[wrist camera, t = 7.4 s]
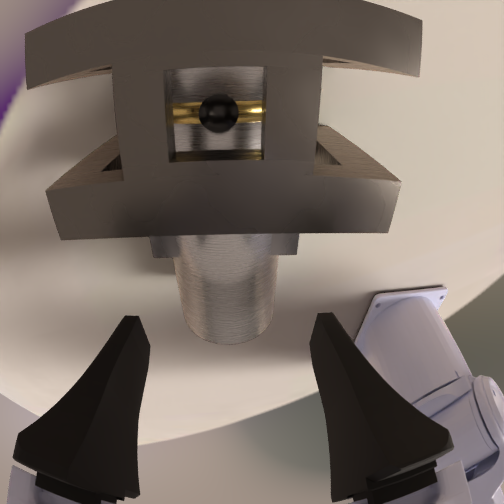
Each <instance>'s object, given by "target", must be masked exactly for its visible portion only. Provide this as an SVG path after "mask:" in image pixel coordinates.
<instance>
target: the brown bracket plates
mask: <svg viewBox="0 0 504 504" xmlns="http://www.w3.org/2000/svg"><path fill="white" fill-rule="evenodd" d="M421 48H422V20H420V19H418V18H415V17H412V16H410V15H407V14H404V13H402V12H399V11H396V10H393V9H390V8H387V7H384V6H381V5H377V4H374V3H370V2H367V1H363V0H112V1H109V2H105V3H102V4H98V5H95V6H92V7H89V8H86V9H83V10H80V11H77V12H74V13H72V14H69V15H66V16H64V17H61V18H59V19H56V20H54V21H52V22H49V23H47V24H45V25H42V26H40V27H38V28H36V29H34V30H32V31H30V32H28V33H26V34H25V66H26V83H27V90H28V89H32V88H36V87H40V86H44V85H48V84H52V83H57V82H62V81H66V80H72V79H77V78H83V77H89V76H95V75H103V74H110V73H112V79H113V94H114V106H115V116H116V126H117V135H116V136H114V137H113V138H111V139H110V140H109V141H107V142H106V143H104V144H103V145H102V146H100V147H99V148H97V149H96V150H95V151H93V152H92V153H91V154H89V155H88V156H87V157H85V158H84V159H83V160H82V161H80V162H79V163H78V164H76V165H75V166H74V167H73V168H71V169H70V170H69V171H68V172H67V173H65V174H64V175H63V176H62V177H61V178H59V179H58V180H57V181H56V182H55V183H54V184H53V185H51V186H50V187H49V188H48V189H47V190H46V195H47V198H48V202H49V205H50V208H51V212H52V215H53V218H54V221H55V224H56V227H57V230H58V233H59V236H60V239H61V240H77V239H99V238H124V237H151V236H184V235H224V234H282V233H388V231H389V228H390V224H391V221H392V217H393V214H394V210H395V206H396V202H397V199H398V195H399V191H400V187H401V181H400V180H399V179H398V178H397V177H395V176H394V175H393V174H392V173H391V172H389V171H388V170H387V169H386V168H384V167H383V166H382V165H381V164H380V163H378V162H377V161H376V160H374V159H373V158H372V157H371V156H369V155H368V154H367V153H365V152H364V151H363V150H361V149H360V148H359V147H357V146H356V145H355V144H353V143H352V142H351V141H349V140H348V139H346V138H345V137H344V136H342V135H341V134H339V133H338V132H337V131H335V130H334V129H332V128H331V127H329V126H320V125H318V119H319V107H320V94H321V80H322V66H326V67H333V68H349V69H362V70H372V71H380V72H388V73H395V74H402V75H408V76H414V77H419V75H420V63H421ZM229 66H251V67H263V88H262V122H261V149H228V150H198V151H180V152H176V147H175V133H174V116H173V96H172V70H177V69H188V68H202V67H229Z"/></svg>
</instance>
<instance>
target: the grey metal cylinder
mask: <svg viewBox="0 0 504 504" xmlns="http://www.w3.org/2000/svg"><path fill="white" fill-rule="evenodd" d="M262 88H263V67H251V66H229V67H202V68H188V69H177V70H172V96H173V116H174V133H175V147H176V152H180V151H198V150H228V149H261V122H262ZM149 238H150V242H151V247H152V252H153V256H154V258H167V257H173V261H174V267H175V272H176V278H177V283H178V288H179V293H180V298H181V302H182V307H183V312H184V316H185V320H186V323H187V325H188V326H189V328H190V329H191V330H192V331H193V332H194V333H195V334H196V335H197V336H199V337H200V338H202V339H204V340H206V341H209V342H212V343H216V344H225V345H230V344H239V343H243V342H246V341H249V340H251V339H254V338H255V337H257V336H259V335H260V334H261V333H262V332H263V331H264V330H265V329H266V328H267V327H268V325H269V324H270V322H271V320H272V316H273V308H274V298H275V288H276V278H277V268H278V257H279V255H297V247H298V240H299V233H282V234H224V235H184V236H151V237H149Z"/></svg>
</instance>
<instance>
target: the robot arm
mask: <svg viewBox="0 0 504 504" xmlns="http://www.w3.org/2000/svg"><path fill="white" fill-rule="evenodd" d="M447 293H448V289H447V288H446V287H438V288H429V289H420V290H411V291H401V292H390V293H380V294H377V295H375V296H374V298H373V300H372V303H371V305H370V307H369V310H368V312H367V315H366V317H365V319H364V322H363V324H362V326H361V329H360V331H359V333H358V335H357V337H356V340H355V342H353V341H352V340H351V338H350V337H349V335H348V334H347V333H346V331H345V330H344V328H343V327H342V325H341V324H340V322H339V321H338V319H337V318H336V317H335V315H334V314H333V313H332V312H330V313H318V314H317V318H316V322H315V326H314V329H313V333H312V337H311V340H310V351H311V358H312V365H313V369H314V373H315V377H316V381H317V385H318V389H319V392H320V396H321V400H322V404H323V408H324V413H325V418H326V425H327V433H328V441H329V453H330V469H331V499H332V502H338V501H342V500H346V499H350V498H353V500H354V502H352V503H348V504H504V495H503V492H502V489H501V487H500V486H501V484H502V483H503V481H504V396H503V395H502V392H501V390H500V389H499V387H498V386H497V384H496V383H495V381H494V380H493V379H492V378H491V377H486V376H483V375H480V376H478V377H477V378H476V377H473V376H472V374H471V372H470V370H469V368H468V366H467V364H466V362H465V360H464V358H463V356H462V354H461V352H460V350H459V348H458V346H457V344H456V342H455V341H454V339H453V337H452V335H451V333H450V331H449V330H448V328H447V326H446V325H445V323H444V321H443V319H442V317H441V316H440V314H439V312H438V309H439V307H440V305H441V304H442V302H443V300H444V298H445V296H446V295H447ZM149 356H150V344H149V341H148V339H147V336H146V334H145V331H144V328H143V326H142V323H141V321H140V318H139V316H126V315H125V316H124V318H123V319H122V320H121V322H120V323H119V325H118V326H117V328H116V329H115V331H114V332H113V334H112V335H111V337H110V338H109V340H108V341H107V343H106V344H105V345H104V347H103V348H102V350H101V351H100V352H99V354H98V355H97V357H96V358H95V359H94V361H93V362H92V363H91V365H90V366H89V367H88V369H87V370H86V371H85V373H84V374H83V375H82V376H81V377H80V379H79V380H78V381H77V382H76V383H75V385H74V386H73V387H72V388H71V389H70V390H69V391H68V392H67V393H66V394H65V395H64V396H63V397H62V398H61V399H60V400H59V401H58V402H57V403H56V404H55V405H54V406H53V407H52V408H51V409H50V410H49V411H47V412H46V413H45V414H44V415H43V416H42V417H40V418H39V419H38V420H37V421H35V422H34V423H33V424H31V425H30V426H28V427H27V428H25V429H24V430H23V431H21V432H20V433H19V434H18V437H17V440H16V445H15V449H14V454H13V459H14V460H15V461H17V462H19V463H21V464H23V465H25V466H27V467H29V468H31V469H33V470H35V471H37V476H35V475H32V474H30V473H28V472H26V471H24V470H22V469H20V468H18V467H16V466H14V465H13V466H12V470H11V475H10V481H9V489H8V496H7V504H116V502H117V500H122V501H124V497H129V498H136V497H138V496H139V495H140V489H139V478H138V461H137V439H138V420H139V412H140V407H141V402H142V397H143V392H144V387H145V382H146V377H147V372H148V366H149Z"/></svg>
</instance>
